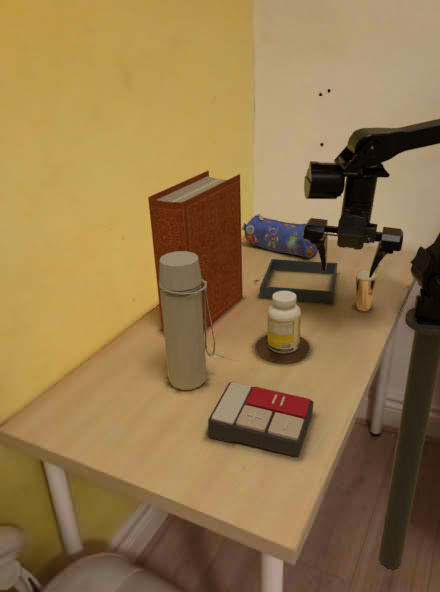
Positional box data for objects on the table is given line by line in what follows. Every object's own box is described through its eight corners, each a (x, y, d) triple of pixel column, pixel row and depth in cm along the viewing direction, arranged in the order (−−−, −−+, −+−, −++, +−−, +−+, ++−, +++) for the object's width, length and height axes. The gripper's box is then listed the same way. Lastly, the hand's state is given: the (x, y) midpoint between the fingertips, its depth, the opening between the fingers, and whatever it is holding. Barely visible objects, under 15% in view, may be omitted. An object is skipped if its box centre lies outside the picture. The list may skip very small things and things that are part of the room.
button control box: (300, 440, 81) (207, 416, 85) (298, 461, 83) (207, 437, 87) (314, 396, 90) (229, 377, 94) (312, 416, 92) (229, 397, 96)
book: (213, 290, 134) (207, 170, 120) (242, 297, 131) (240, 174, 116) (159, 333, 117) (144, 198, 103) (190, 342, 114) (179, 204, 99)
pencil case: (241, 247, 159) (240, 216, 155) (257, 238, 165) (257, 208, 160) (307, 263, 147) (308, 230, 143) (322, 253, 153) (324, 221, 148)
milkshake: (380, 309, 123) (385, 269, 118) (360, 313, 122) (364, 273, 117) (368, 300, 127) (372, 261, 122) (349, 305, 125) (352, 265, 121)
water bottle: (172, 396, 98) (159, 270, 86) (165, 372, 104) (153, 252, 92) (221, 388, 99) (216, 263, 87) (211, 364, 106) (205, 245, 94)
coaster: (312, 337, 114) (312, 335, 113) (306, 366, 104) (306, 364, 104) (260, 332, 116) (260, 330, 116) (250, 360, 107) (250, 358, 107)
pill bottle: (290, 335, 114) (291, 285, 108) (305, 350, 108) (307, 299, 103) (262, 342, 112) (262, 292, 106) (276, 358, 106) (276, 306, 101)
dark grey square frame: (336, 273, 141) (337, 262, 139) (332, 303, 126) (333, 292, 125) (271, 269, 145) (271, 258, 143) (259, 298, 130) (259, 286, 129)
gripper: (302, 205, 98) (294, 282, 106) (409, 217, 94) (393, 297, 101) (312, 189, 108) (304, 261, 115) (409, 200, 103) (394, 274, 110)
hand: (347, 273), depth 110 cm, fingers open, 9 cm apart
